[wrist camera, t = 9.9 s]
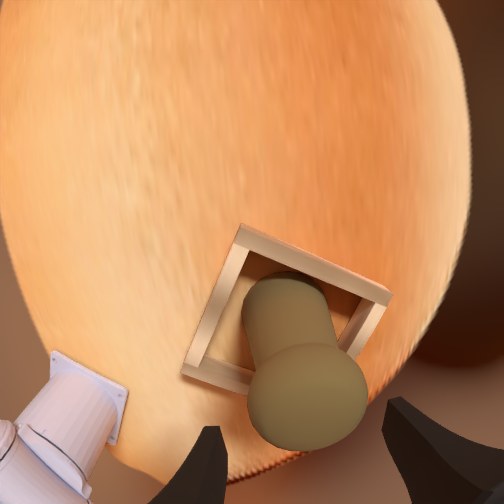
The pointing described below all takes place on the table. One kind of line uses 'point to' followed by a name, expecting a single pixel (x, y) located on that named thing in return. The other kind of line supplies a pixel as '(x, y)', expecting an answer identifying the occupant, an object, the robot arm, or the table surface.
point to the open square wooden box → (299, 259)
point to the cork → (299, 366)
